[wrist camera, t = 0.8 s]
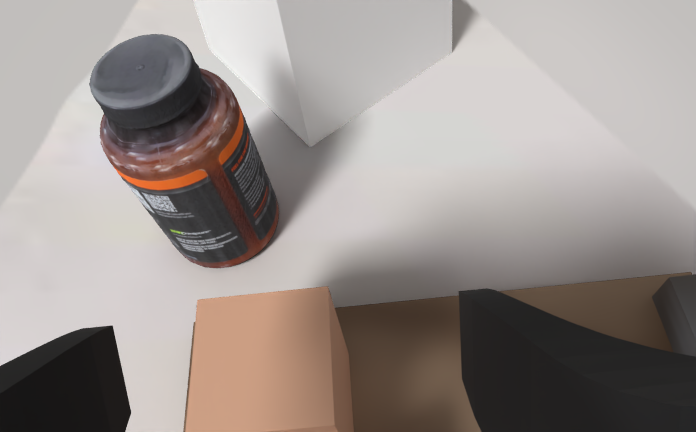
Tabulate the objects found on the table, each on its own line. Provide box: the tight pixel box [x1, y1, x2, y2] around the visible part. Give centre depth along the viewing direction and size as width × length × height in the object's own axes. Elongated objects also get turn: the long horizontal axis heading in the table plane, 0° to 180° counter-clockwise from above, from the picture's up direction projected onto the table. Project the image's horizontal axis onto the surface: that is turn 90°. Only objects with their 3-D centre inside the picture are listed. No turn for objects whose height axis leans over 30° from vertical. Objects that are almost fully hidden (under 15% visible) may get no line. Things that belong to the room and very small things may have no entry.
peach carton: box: [185, 286, 354, 432], centre depth 20 cm, size 5×4×7 cm
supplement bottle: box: [89, 34, 279, 268], centre depth 25 cm, size 6×6×11 cm
